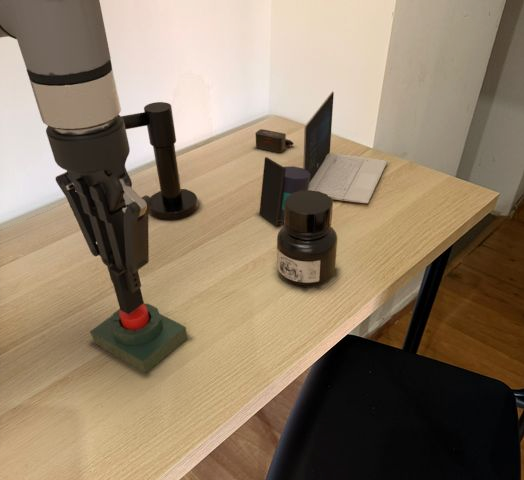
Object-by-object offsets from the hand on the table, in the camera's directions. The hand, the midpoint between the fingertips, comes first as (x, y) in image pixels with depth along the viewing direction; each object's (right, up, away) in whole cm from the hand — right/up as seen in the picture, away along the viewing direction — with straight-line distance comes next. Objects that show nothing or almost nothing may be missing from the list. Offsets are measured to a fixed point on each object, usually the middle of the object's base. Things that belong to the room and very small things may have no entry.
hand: (132, 306), depth 68 cm
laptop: (+33, +28, +36) cm, 56 cm away
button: (0, -2, +2) cm, 3 cm away
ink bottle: (+24, +6, +15) cm, 29 cm away
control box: (0, -4, +4) cm, 6 cm away
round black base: (0, +21, +30) cm, 36 cm away
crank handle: (-5, +24, +24) cm, 34 cm away
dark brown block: (+20, +38, +47) cm, 64 cm away
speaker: (+21, +18, +27) cm, 39 cm away
